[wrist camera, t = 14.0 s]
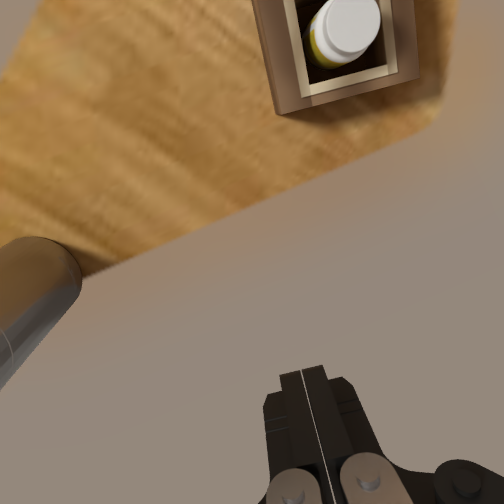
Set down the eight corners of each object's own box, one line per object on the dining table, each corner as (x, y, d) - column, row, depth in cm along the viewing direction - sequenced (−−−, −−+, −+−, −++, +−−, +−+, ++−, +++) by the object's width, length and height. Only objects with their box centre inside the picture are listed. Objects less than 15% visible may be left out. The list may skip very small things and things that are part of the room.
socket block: (275, 114, 37) (282, 114, 32) (250, -2, 34) (254, -22, 29) (396, 82, 37) (421, 77, 32) (383, -39, 33) (409, -65, 28)
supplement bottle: (343, 76, 36) (373, 66, 28) (295, 64, 36) (313, 50, 28) (358, 20, 35) (395, -7, 27) (308, 6, 34) (331, -25, 26)
